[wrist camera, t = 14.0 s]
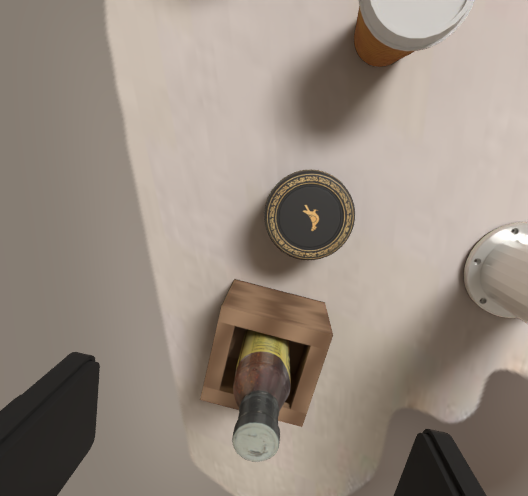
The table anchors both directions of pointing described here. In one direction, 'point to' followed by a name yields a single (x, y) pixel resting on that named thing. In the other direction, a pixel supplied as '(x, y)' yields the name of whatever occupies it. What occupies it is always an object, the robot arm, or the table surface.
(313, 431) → the table surface
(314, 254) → the jar
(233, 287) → the walnut box
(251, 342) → the sauce bottle
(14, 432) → the robot arm
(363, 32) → the disposable coffee cup
